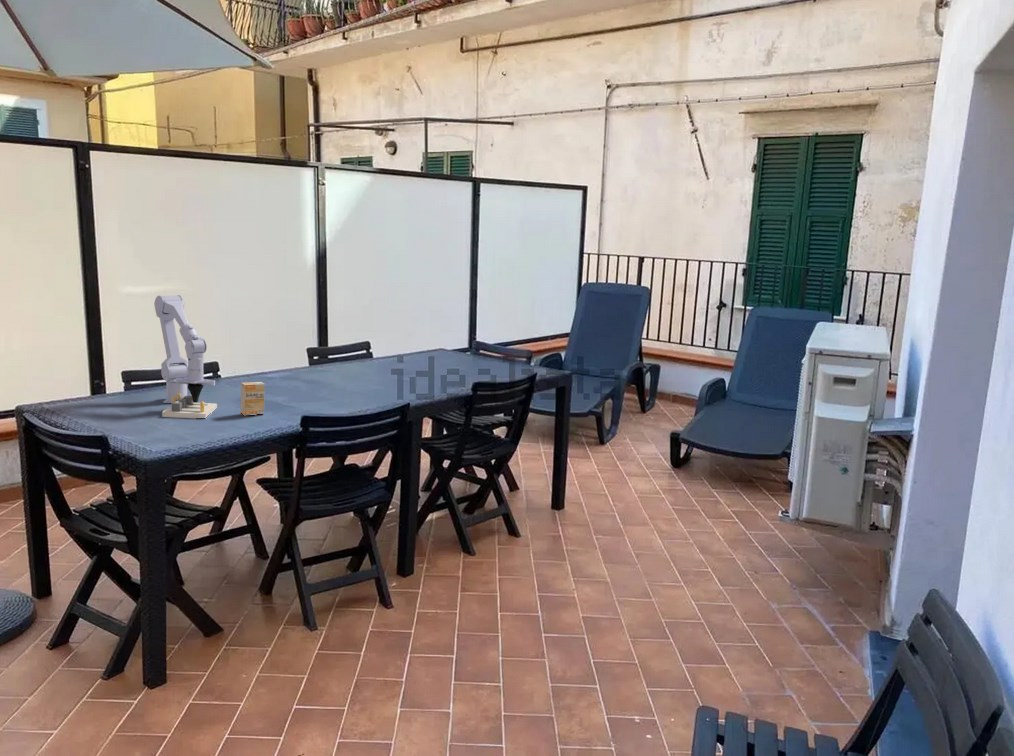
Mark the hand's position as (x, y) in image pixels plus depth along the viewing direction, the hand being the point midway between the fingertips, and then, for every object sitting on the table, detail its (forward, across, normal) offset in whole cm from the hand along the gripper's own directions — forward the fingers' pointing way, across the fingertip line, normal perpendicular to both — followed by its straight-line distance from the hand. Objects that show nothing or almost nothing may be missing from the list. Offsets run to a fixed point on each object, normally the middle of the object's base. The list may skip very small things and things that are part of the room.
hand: (195, 402), depth 303 cm
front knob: (+1, -4, -11) cm, 12 cm away
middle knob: (+1, -4, -6) cm, 7 cm away
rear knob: (+1, -3, 0) cm, 3 cm away
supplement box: (+3, +23, -4) cm, 24 cm away
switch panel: (+3, 0, -6) cm, 6 cm away
